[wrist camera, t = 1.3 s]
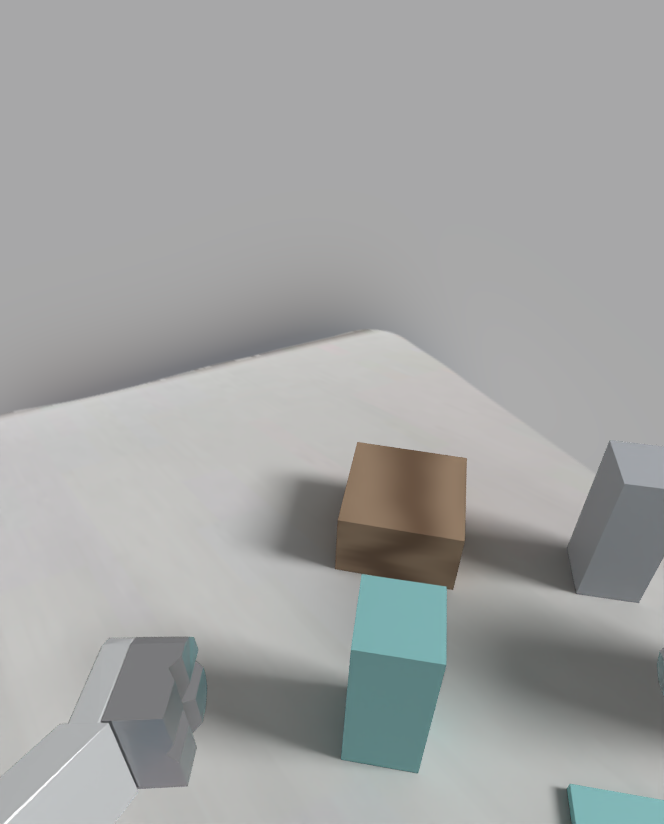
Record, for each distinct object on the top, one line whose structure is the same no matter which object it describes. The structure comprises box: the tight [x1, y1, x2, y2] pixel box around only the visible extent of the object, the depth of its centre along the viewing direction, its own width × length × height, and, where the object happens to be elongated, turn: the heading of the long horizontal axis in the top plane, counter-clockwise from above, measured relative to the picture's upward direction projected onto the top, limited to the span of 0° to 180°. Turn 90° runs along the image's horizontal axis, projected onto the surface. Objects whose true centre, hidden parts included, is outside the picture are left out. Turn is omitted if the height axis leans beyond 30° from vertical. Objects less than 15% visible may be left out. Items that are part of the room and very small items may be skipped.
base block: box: [335, 442, 467, 590], centre depth 43 cm, size 8×8×5 cm
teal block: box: [341, 574, 447, 773], centre depth 30 cm, size 4×4×10 cm
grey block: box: [567, 440, 664, 603], centre depth 39 cm, size 4×4×10 cm
